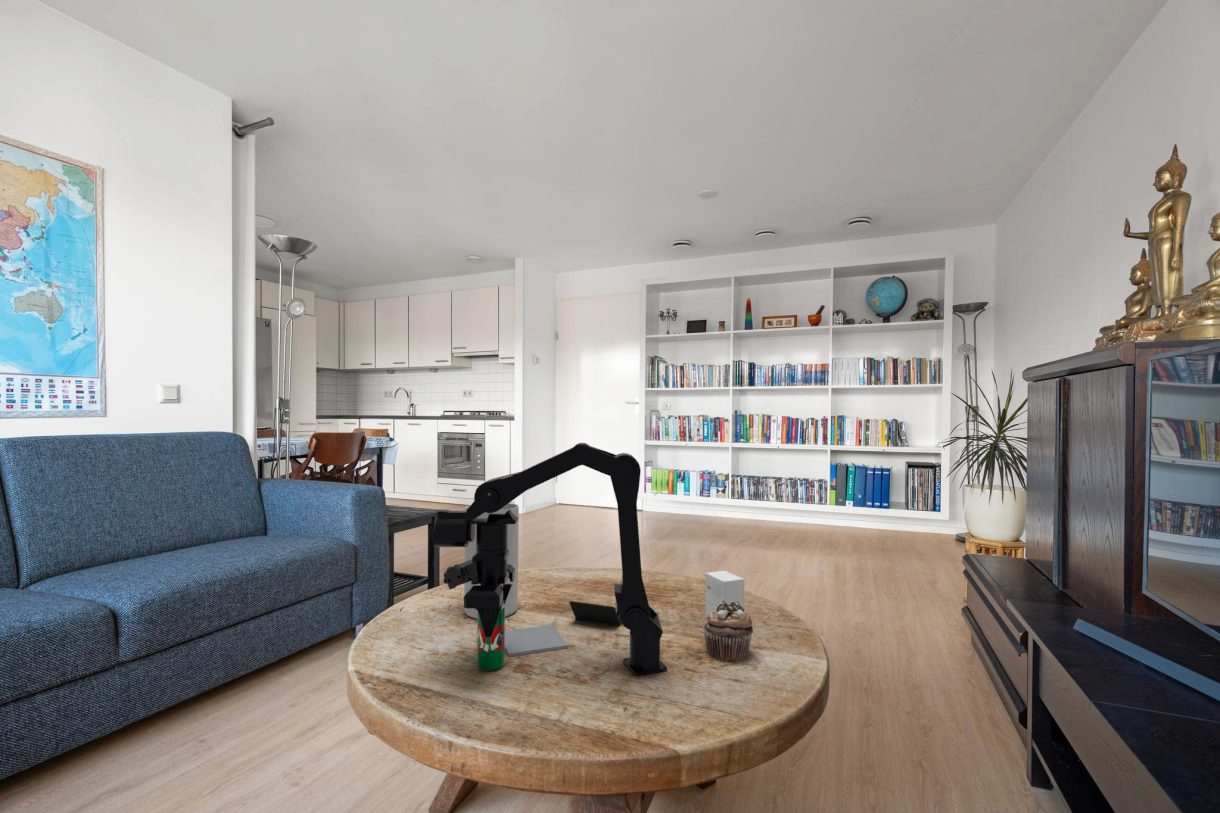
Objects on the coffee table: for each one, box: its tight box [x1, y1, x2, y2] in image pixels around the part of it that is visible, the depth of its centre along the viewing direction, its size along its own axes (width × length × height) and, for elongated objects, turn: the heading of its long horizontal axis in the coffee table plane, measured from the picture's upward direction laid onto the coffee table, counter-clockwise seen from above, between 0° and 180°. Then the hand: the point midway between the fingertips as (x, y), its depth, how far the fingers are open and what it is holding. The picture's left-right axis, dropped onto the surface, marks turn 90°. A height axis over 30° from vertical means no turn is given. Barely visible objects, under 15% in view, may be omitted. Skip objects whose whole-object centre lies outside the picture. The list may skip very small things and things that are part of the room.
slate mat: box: [505, 624, 569, 658], centre depth 117 cm, size 12×12×1 cm
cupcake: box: [702, 601, 754, 662], centre depth 112 cm, size 10×10×10 cm
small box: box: [704, 570, 746, 618], centre depth 130 cm, size 8×6×10 cm
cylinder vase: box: [463, 502, 520, 620], centre depth 135 cm, size 12×12×25 cm
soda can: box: [476, 604, 506, 672], centre depth 106 cm, size 5×5×12 cm
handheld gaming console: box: [569, 600, 622, 627], centre depth 129 cm, size 12×7×10 cm
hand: (491, 631), depth 106 cm, fingers closed on soda can, 5 cm apart
